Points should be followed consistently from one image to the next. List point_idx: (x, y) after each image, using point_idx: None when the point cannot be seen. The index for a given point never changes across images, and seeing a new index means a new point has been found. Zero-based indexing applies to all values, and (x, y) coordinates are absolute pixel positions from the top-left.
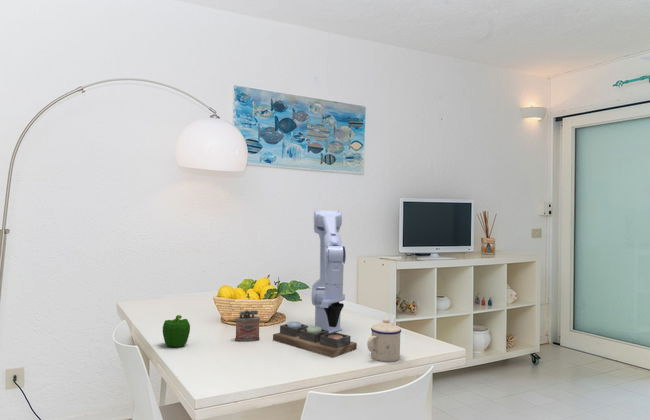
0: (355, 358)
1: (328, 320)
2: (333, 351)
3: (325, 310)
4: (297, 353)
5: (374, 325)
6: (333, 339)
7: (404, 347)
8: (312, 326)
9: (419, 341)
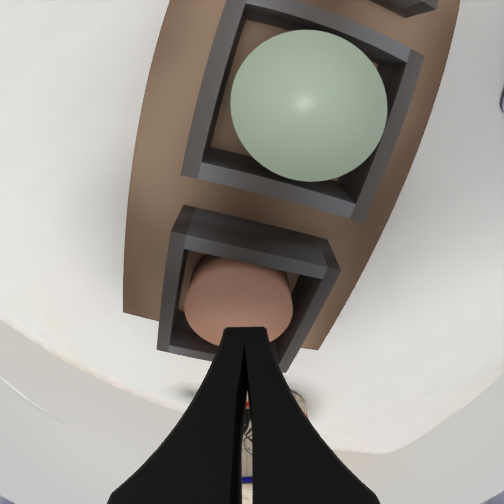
0: (187, 357)
1: (211, 370)
2: (129, 310)
3: (144, 467)
4: (73, 114)
5: (251, 495)
6: (159, 330)
7: (387, 406)
8: (367, 66)
9: (447, 401)
